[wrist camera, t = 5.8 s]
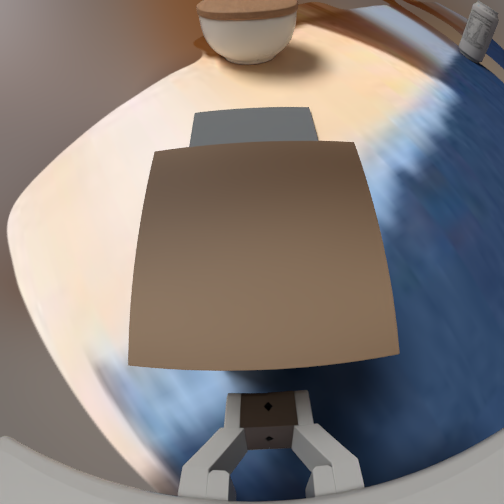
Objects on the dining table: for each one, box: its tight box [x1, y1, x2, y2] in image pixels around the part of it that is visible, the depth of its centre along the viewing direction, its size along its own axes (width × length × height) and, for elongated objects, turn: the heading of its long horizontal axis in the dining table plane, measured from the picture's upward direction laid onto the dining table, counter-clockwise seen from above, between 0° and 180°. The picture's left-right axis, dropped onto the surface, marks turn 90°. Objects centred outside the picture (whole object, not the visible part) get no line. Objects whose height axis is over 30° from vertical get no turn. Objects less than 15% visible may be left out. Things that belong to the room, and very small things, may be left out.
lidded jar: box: [196, 0, 298, 65], centre depth 23 cm, size 11×11×9 cm
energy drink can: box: [459, 1, 498, 63], centre depth 25 cm, size 6×6×15 cm
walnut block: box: [128, 141, 399, 371], centre depth 10 cm, size 5×5×11 cm
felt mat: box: [189, 107, 318, 147], centre depth 19 cm, size 14×10×1 cm
